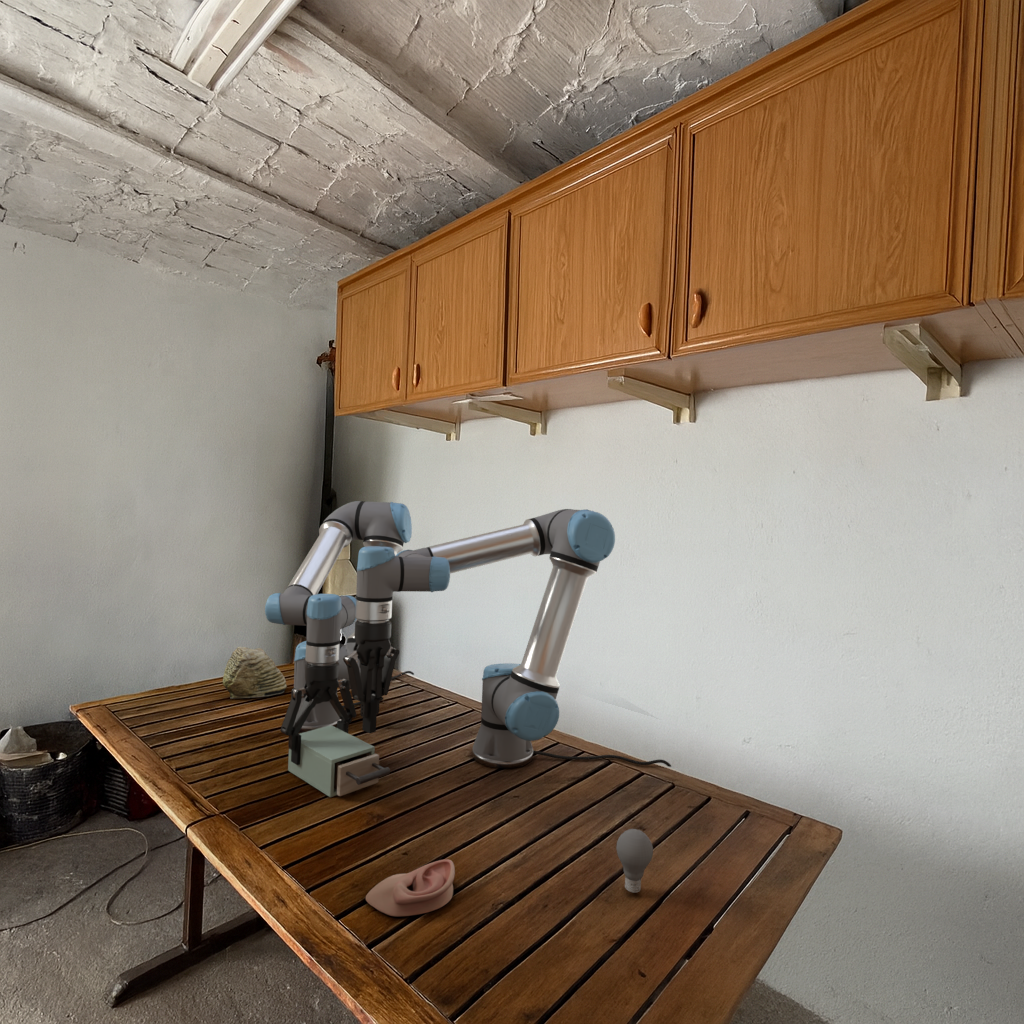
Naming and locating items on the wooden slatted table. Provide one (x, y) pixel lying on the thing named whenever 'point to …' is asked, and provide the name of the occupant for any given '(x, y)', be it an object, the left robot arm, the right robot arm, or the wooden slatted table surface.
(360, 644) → the right robot arm
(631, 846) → the light bulb
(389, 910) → the anatomical model
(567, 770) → the wooden slatted table surface
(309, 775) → the cabinet
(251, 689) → the fossil
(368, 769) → the drawer
